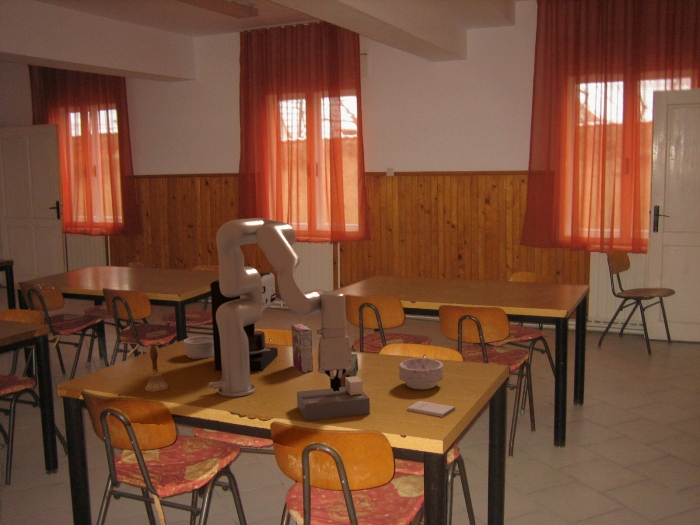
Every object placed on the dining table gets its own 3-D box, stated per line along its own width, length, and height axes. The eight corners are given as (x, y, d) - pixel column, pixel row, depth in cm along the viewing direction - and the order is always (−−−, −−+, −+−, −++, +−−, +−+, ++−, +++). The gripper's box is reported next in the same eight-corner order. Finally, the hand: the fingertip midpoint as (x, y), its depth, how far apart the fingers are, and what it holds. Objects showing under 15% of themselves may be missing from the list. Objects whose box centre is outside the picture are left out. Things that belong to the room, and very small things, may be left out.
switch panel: (305, 421, 206) (305, 405, 206) (297, 407, 220) (296, 391, 219) (369, 414, 211) (369, 397, 211) (357, 400, 225) (357, 385, 224)
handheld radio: (359, 370, 261) (351, 390, 236) (350, 371, 261) (342, 391, 236) (358, 353, 260) (350, 371, 235) (349, 353, 260) (340, 372, 236)
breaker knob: (350, 395, 213) (350, 382, 213) (345, 389, 219) (345, 377, 218) (362, 393, 214) (362, 381, 214) (357, 388, 220) (357, 376, 219)
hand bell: (144, 393, 239) (141, 348, 238) (144, 386, 247) (141, 342, 246) (168, 390, 242) (166, 345, 240) (168, 383, 250) (165, 340, 248)
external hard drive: (443, 419, 207) (407, 412, 214) (455, 411, 213) (420, 404, 220) (443, 414, 206) (407, 407, 214) (455, 406, 213) (420, 399, 220)
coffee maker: (260, 374, 258) (256, 282, 254) (210, 374, 261) (205, 282, 257) (279, 355, 285) (276, 271, 281) (234, 355, 288) (230, 272, 284)
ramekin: (212, 359, 282) (211, 343, 282) (180, 360, 283) (179, 343, 282) (219, 351, 296) (218, 335, 295) (189, 352, 296) (188, 336, 295)
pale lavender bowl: (419, 395, 228) (419, 372, 227) (390, 385, 240) (390, 363, 239) (453, 386, 237) (452, 363, 236) (423, 377, 249) (422, 355, 248)
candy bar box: (292, 366, 269) (290, 324, 267) (304, 364, 271) (303, 323, 269) (301, 373, 258) (299, 330, 256) (313, 371, 260) (312, 328, 258)
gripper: (312, 337, 207) (314, 396, 210) (360, 333, 211) (362, 391, 213) (307, 331, 215) (309, 389, 217) (354, 328, 218) (355, 384, 221)
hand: (335, 389), depth 215 cm, fingers closed
